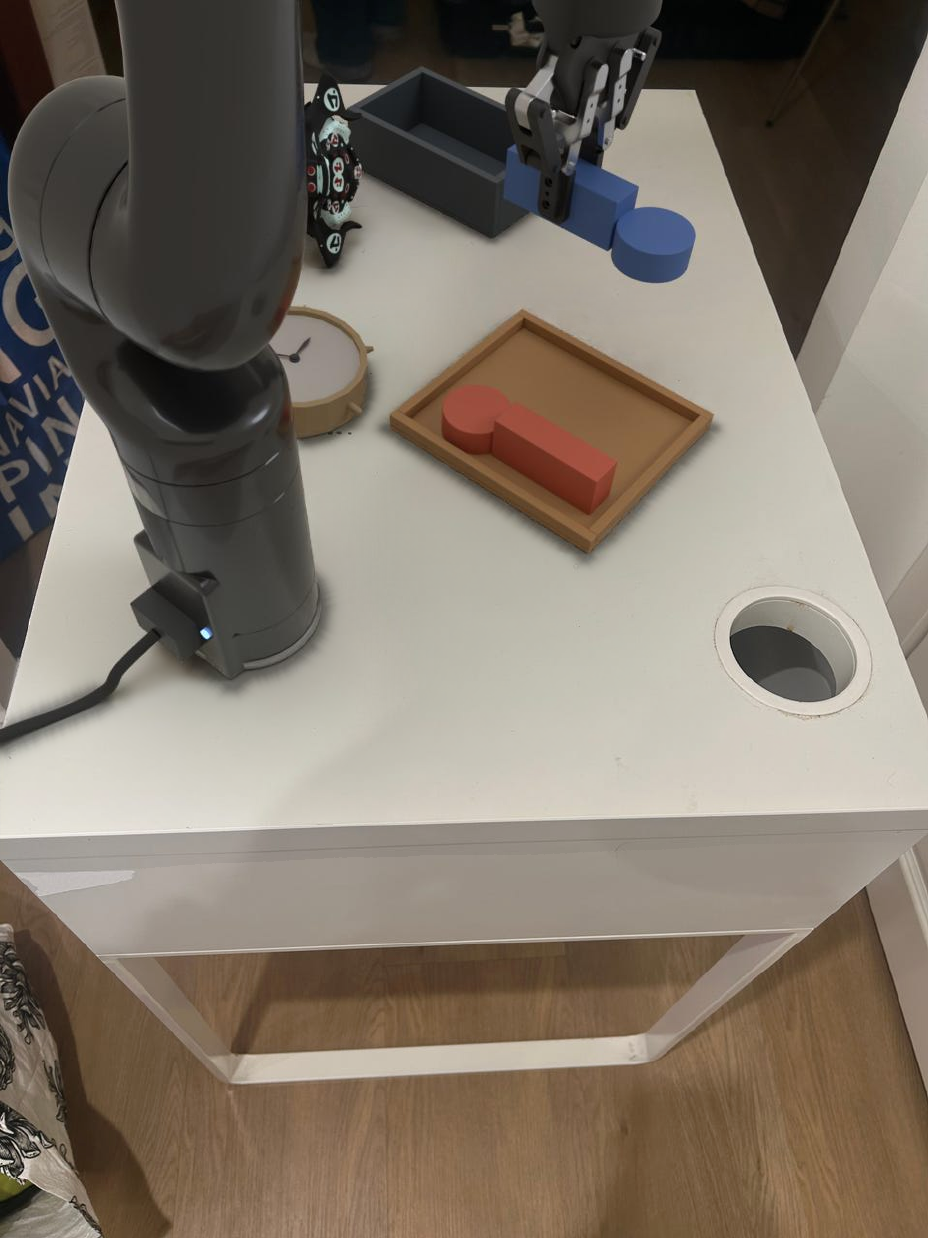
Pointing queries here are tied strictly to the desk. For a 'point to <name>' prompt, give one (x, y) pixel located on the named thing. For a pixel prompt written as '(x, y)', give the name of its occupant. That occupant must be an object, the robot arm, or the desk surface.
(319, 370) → the alarm clock
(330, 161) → the figurine
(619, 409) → the tray
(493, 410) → the red spoon
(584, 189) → the blue spoon
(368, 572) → the desk surface
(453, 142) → the bin
